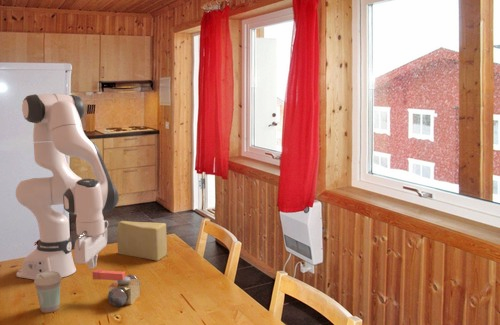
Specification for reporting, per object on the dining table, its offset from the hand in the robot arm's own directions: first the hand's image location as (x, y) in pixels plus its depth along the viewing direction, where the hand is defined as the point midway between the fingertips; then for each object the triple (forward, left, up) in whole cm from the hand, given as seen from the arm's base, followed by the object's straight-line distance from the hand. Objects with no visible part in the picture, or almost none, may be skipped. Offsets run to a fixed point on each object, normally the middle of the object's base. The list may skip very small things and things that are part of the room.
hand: (92, 267), depth 169 cm
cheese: (-3, +50, -14) cm, 52 cm away
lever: (+4, +6, -7) cm, 10 cm away
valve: (+8, +6, -14) cm, 17 cm away
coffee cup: (-14, -5, -14) cm, 20 cm away
